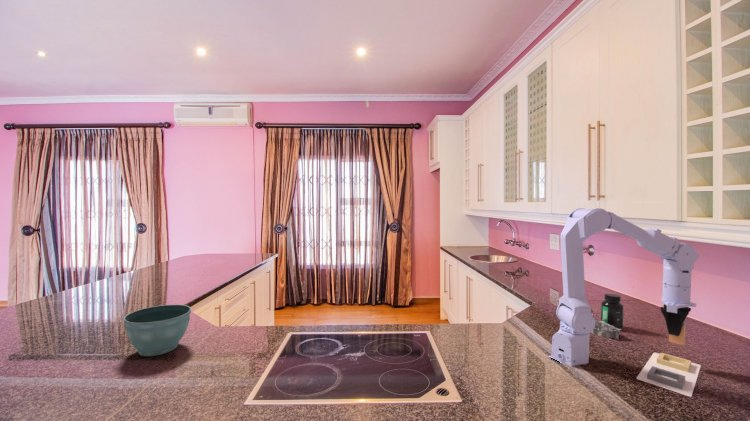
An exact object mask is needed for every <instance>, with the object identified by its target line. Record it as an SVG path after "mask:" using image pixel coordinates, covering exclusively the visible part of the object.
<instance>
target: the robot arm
mask: <svg viewBox="0 0 750 421" xmlns="http://www.w3.org/2000/svg"><path fill="white" fill-rule="evenodd" d="M607 229H608V230H614V231H616V232H618V233H620V234H623V235H625V236H627V237H629V238H633V239H634V240H636V244H637V245H638V246H639V247H641V248H643V249H645V250H648V251H649V252H652V253H653V254H656V255H658V257H659V258H660V259H661V260H662V261H663V263H662V264H663V265H662V266H663V267H662V270H663V271H662V295H661V298H660V300H661V302H662V303H663V306H661V307H660V308H659V309H660V312H661V314H662V315H663V318H664V321H665V324H666V329H667V333H668V335H669V334H671V335H675V336H679V335H680V332H681V329H682V325H683V322H684V321H686V318H687V316H688V315H689V313H690V312H691V311H692V308H691V307H693V308H696V307H697V303H696V302H691V297H692V296H691V293H692V271H693V269H694V265H695V263H696V262H697V261H698V259H699V256H700V254H699V253H698V252H697V250H696V248H695V247H694V246H693V245H692V244H690V243H687V242H680V241H679V240H678V237H674V236H669V235H667V234H665V233H663V232H662V230H661V229H659V228H652V227H651V228H646V229H644V228H642V227H640V226H638V225H636V224H635V223H632V222H631V221H628V220H627V219H624V218H622V217H620V216H619V215H617V214H616V213H614V212H611V211H607V210H606V209H603V208H600V207H599V208H597V207H596V208H584V207H582V208H581V207H580V208H576V209H574V210H573V211H572V212H571V213H569V214H568V215H566V222H565V225H564V227H563V228H562V229H561V230H562V231H561V232H560V236H559V238H560V253H561V254H560V256H561V276H562V278H561V279H562V290H563V292H562V293H563V295H562V296H560V297H559V298H558V305H557V307H556V312H555V314H556V317H557V319H558V320H559V321H560V323H559V329H558V331H557V332H555V333H554V334H553V335H552V338H551V355H548V358H549V357H551V358H553V359H555V360H557V361H559V362H560V363H559V362H558V363H559V364H561V363H562V364H565V365H567V366H569V367H575V366H578V365H587V364H589V359H590V358H589V357H590V335H591V332H592V331H593V329H594V328H595V321H596V318H595V317H594V315H593V313H592V307H591V304H590V303H589V301H588V300H587V298H586V285H585V283H586V282H585V281H586V280H585V264H584V263H585V262H584V248H583V247H584V245H583V243H584V242H585V241H587V240H588V239H589V238H590V237H592V236H594V235H597V234H598V233H599V234H600V233H601V232H604V231H605V230H607ZM551 358H550V359H551ZM553 359H552V360H553ZM555 360H554V361H555ZM557 361H556V362H557Z"/></svg>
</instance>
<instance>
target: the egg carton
mask: <svg viewBox="0 0 750 421" xmlns="http://www.w3.org/2000/svg"><path fill="white" fill-rule="evenodd" d="M620 331H622V330H621V329H618V328H616V327H614V326H611V325H609V324H607V323H606V322H604V321H601V320H595V328H594V329H593V331H592V332H590V334H593V335H596V336H598V337H603V338H605V339H615V340H619V338H620V336H619V335H620Z"/></svg>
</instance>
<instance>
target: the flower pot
mask: <svg viewBox="0 0 750 421" xmlns="http://www.w3.org/2000/svg"><path fill="white" fill-rule="evenodd" d="M191 311H192V307H191V306H189V305H185V304H163V305H156V306H150V307H145V308H140V309H138V310H134V311H131V312H130V313H128V314H126V315H125V316H124V317H123V324H124V326H125V327H124V328H125V333H126V337H127V339H128V341H129V342H130V344H131V345H132V346H133V348H135V349H136V350H137V354H138V355H140V356H141V357H155V356H160V355H163V354H168V353H170V352H172V351H174V350H176V349H177V347H178V345H179V342H180V340H182V338H183V337H184V336H185V333H186V332H187V329H188V326H189V324H190V317H191Z"/></svg>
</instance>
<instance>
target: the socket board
mask: <svg viewBox="0 0 750 421" xmlns="http://www.w3.org/2000/svg"><path fill="white" fill-rule="evenodd" d="M701 368H702V364H698V363H695V362H692V360H690V359H685V358H682V357H678V356H675V355H671V354H668V353H663V352H660V353H659V352H653V353H652V355H651V356H650V357H649V359H648V360H647V362H646V364H645V365H644V366H643V368H642V369H641V370H640V372H639V374H638V375H637V376H636V380H638V381H642V382H645V383H647V384H651V385H654V386H657V387H659V388H663V389H666V390H669V391H672V392H675V393H677V394H681V395H683V396H687V397H690V398H691V397H692V396H693V392H694V389H695V387H696V383H697V379H698V376H699V372H700V369H701Z"/></svg>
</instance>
